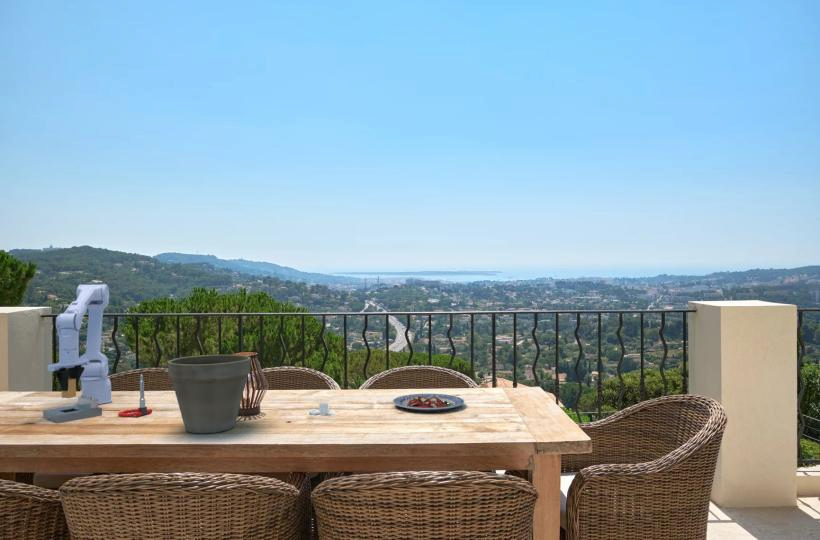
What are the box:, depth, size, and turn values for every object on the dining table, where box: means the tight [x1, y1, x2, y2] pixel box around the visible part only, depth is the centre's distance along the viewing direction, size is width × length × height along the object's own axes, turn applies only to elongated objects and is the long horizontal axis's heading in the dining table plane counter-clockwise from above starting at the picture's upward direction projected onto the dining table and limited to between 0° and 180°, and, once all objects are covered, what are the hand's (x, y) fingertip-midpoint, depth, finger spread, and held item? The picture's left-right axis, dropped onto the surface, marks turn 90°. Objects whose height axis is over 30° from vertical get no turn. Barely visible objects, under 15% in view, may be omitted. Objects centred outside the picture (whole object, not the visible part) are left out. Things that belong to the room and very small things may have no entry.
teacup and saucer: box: [308, 402, 336, 418], centre depth 213 cm, size 9×8×4 cm
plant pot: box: [167, 354, 252, 434], centre depth 195 cm, size 25×25×22 cm
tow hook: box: [117, 374, 153, 418], centre depth 214 cm, size 9×14×10 cm
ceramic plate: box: [392, 393, 465, 412], centre depth 225 cm, size 26×26×3 cm
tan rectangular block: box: [61, 377, 77, 399], centre depth 210 cm, size 3×3×6 cm
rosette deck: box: [42, 394, 103, 424], centre depth 211 cm, size 14×12×6 cm
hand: (69, 389), depth 210 cm, fingers closed on tan rectangular block, 3 cm apart
